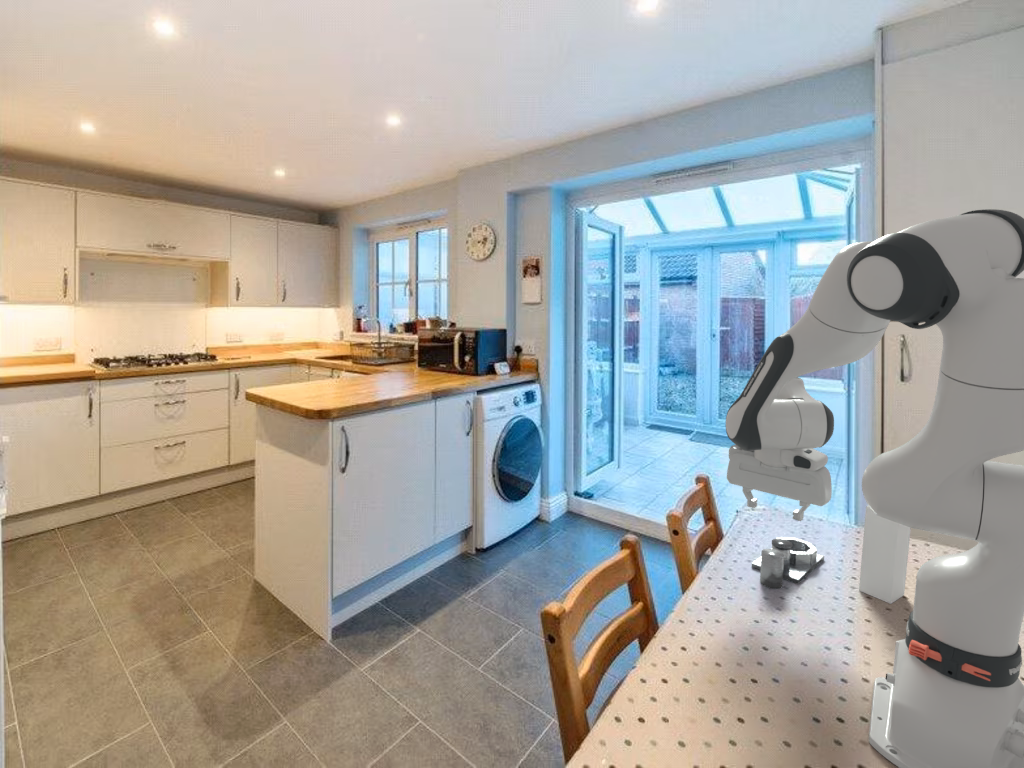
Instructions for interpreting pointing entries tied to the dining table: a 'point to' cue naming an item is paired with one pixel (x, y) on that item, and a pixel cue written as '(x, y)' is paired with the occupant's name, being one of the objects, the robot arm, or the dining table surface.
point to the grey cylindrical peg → (772, 568)
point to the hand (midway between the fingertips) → (774, 513)
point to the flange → (795, 558)
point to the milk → (884, 557)
